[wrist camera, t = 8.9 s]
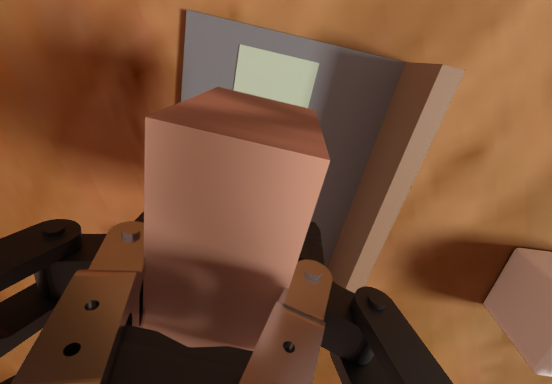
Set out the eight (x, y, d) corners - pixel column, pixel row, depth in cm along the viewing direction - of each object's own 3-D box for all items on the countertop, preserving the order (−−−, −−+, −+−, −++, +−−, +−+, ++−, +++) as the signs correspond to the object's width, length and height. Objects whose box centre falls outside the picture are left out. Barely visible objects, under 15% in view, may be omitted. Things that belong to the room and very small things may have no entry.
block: (315, 110, 11) (330, 160, 6) (266, 289, 16) (249, 409, 10) (217, 86, 11) (144, 116, 6) (195, 273, 16) (142, 388, 10)
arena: (332, 281, 28) (341, 334, 23) (173, 247, 28) (144, 293, 22) (419, 66, 20) (465, 70, 14) (189, 10, 19) (147, -8, 14)
